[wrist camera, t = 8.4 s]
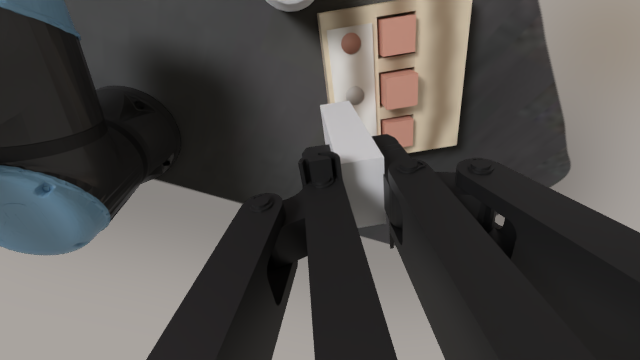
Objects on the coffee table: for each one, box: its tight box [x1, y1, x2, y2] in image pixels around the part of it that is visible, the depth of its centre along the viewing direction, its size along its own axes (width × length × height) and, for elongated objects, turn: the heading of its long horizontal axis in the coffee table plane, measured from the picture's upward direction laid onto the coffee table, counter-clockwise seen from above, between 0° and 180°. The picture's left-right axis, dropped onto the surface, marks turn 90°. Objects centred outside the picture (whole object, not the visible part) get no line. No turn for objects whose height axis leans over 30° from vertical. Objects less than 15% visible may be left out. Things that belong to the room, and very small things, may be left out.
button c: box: [377, 14, 416, 57], centre depth 40 cm, size 4×4×4 cm
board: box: [317, 0, 472, 153], centre depth 45 cm, size 20×22×4 cm
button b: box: [379, 69, 418, 110], centre depth 43 cm, size 4×4×4 cm
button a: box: [380, 115, 413, 147], centre depth 48 cm, size 4×4×4 cm
